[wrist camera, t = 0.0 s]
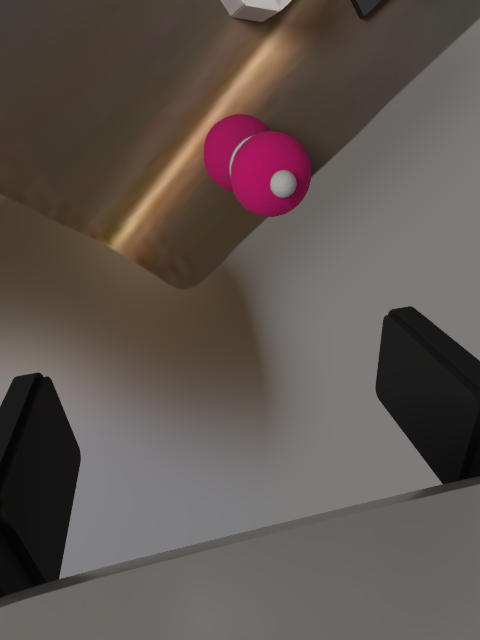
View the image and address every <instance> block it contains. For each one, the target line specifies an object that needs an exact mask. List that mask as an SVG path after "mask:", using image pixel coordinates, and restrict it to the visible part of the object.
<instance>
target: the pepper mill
mask: <svg viewBox="0 0 480 640" xmlns="http://www.w3.org/2000/svg"><path fill="white" fill-rule="evenodd" d="M204 161H205V166H206V168H207V171H208V173H209V175H210V177H211V178H212V179H213V180H214V182H216V183H217V184H218V185H219V186H220V187H222V188H223V189H225V190H227V191H230V192H233V193H234V194H235V196H236V198H237V199H238V200H239V202H240V203H241V204H242V205H243V206H244V207H245V208H246V209H248V210H249V211H251V212H253V213H255V214H257V215H261V216H269V217H273V216H279V215H282V214H286V213H287V212H289V211H291V210H292V209H294V208H295V207H296V206H297V205H299V203H300V202H301V201H302V200H303V198H304V196H305V195H306V193H307V191H308V188H309V185H310V181H311V165H310V161H309V158H308V155H307V153H306V151H305V150H304V148H303V147H302V145H301V144H300V143H299V142H298V141H296V140H295V139H294V138H293V137H291V136H290V135H288V134H285V133H282V132H276V131H270V129H269V128H268V127H267V126H266V125H265V124H264V123H263V122H261V121H260V120H258V119H256V118H255V117H252V116H250V115H245V114H236V115H231V116H228V117H226V118H224V119H222V120H221V121H219V122H218V123H216V124H215V125H214V126H213V127H212V128H211V129H210V131H209V133H208V134H207V137H206V140H205V144H204Z"/></svg>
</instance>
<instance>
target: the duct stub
mask: <svg viewBox="0 0 480 640" xmlns="http://www.w3.org/2000/svg"><path fill="white" fill-rule="evenodd" d="M380 1H381V0H351V2H352V4H353V6H354V8H355V10H356V12H357V14H358V16H359V18H361V17H364V16H365V15H366V14H367V13H368V12H369V11H371V10H372V9H373V8H374V7H375V6H376V5H377V4H378V3H379V2H380Z"/></svg>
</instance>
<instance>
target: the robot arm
mask: <svg viewBox="0 0 480 640" xmlns="http://www.w3.org/2000/svg"><path fill="white" fill-rule="evenodd" d="M376 393H377V396H378V398H379V400H380V401H381V402H382V404H383V405H384V407H385V408H386V409H387V411H388V412H389V413H390V415H391V416H392V417H393V419H394V420H395V421H396V423H397V424H398V425H399V427H400V428H401V429H402V430H403V432H404V433H405V434H406V436H407V437H408V438H409V440H410V441H411V442H412V444H413V445H414V446H415V448H416V449H417V450H418V452H419V453H420V454H421V456H422V457H423V458H424V460H425V461H426V462H427V464H428V465H429V466H430V468H431V469H432V470H433V472H434V473H435V474H436V476H437V477H438V478H439V480H440V481H441V482H442V484H443V485H439V486H434V487H430V488H426V489H422V490H418V491H414V492H409V493H405V494H401V495H397V496H392V497H388V498H384V499H380V500H375V501H371V502H367V503H363V504H359V505H354V506H350V507H346V508H343V509H338V510H334V511H330V512H326V513H322V514H317V515H313V516H309V517H305V518H301V519H297V520H292V521H288V522H285V523H280V524H276V525H272V526H268V527H264V528H260V529H256V530H251V531H248V532H243V533H239V534H235V535H231V536H227V537H223V538H219V539H215V540H211V541H207V542H203V543H199V544H195V545H191V546H187V547H183V548H179V549H175V550H171V551H167V552H163V553H159V554H155V555H151V556H147V557H143V558H139V559H135V560H131V561H127V562H123V563H119V564H115V565H112V566H108V567H104V568H100V569H96V570H92V571H89V572H85V573H81V574H77V575H74V576H70V577H66V578H62V579H59V575H60V569H61V565H62V559H63V554H64V548H65V543H66V537H67V532H68V527H69V521H70V515H71V510H72V505H73V499H74V493H75V488H76V483H77V478H78V472H79V467H80V460H81V456H80V449H79V446H78V444H77V441H76V439H75V436H74V434H73V431H72V429H71V427H70V424H69V422H68V420H67V417H66V414H65V412H64V410H63V407H62V405H61V402H60V400H59V397H58V395H57V392H56V390H55V388H54V385H53V383H52V380H51V379H50V378H49V377H43V375H42V374H41V373H33V374H28V375H22V376H17V377H15V378H14V379H13V381H12V383H11V385H10V387H9V389H8V392H7V394H6V396H5V398H4V400H3V402H2V405H1V407H0V640H480V361H479V360H478V359H477V358H475V357H474V356H473V355H472V354H470V353H469V352H468V351H467V350H465V349H464V348H463V347H462V346H461V345H459V344H458V343H457V342H455V341H454V340H453V339H452V338H451V337H449V336H448V335H447V334H445V333H444V332H443V331H442V330H441V329H439V328H438V327H437V326H436V325H434V324H433V323H432V322H431V321H430V320H428V319H427V318H426V317H425V316H423V315H422V314H421V313H420V312H418V311H417V310H416V309H415V308H413V307H404V308H398V309H392V310H390V312H389V314H388V315H386V316H385V317H384V320H383V327H382V336H381V344H380V353H379V362H378V370H377V379H376Z"/></svg>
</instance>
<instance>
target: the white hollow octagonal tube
mask: <svg viewBox="0 0 480 640" xmlns="http://www.w3.org/2000/svg"><path fill="white" fill-rule="evenodd" d="M290 1H291V0H221V2H222V3H223V5H224V7H225V8H226V10H227V11H228V13H229V14H230V16H232V17H233V18H239V19H245V20H251V21H258V22H264V21H265V20H267V19H268V18H270V17H272V16H273V15H275V14H277V13H278V12H280V11H281V10H282V9H283V8H284V7H285V6H286V5H287V4H288V3H289V2H290Z"/></svg>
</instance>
